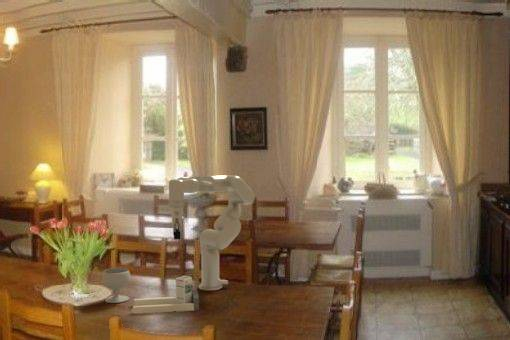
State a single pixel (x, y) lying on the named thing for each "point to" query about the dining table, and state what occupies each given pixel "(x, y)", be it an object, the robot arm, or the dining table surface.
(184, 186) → the robot arm
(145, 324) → the dining table surface
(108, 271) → the chalice
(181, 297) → the syrup box
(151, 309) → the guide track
